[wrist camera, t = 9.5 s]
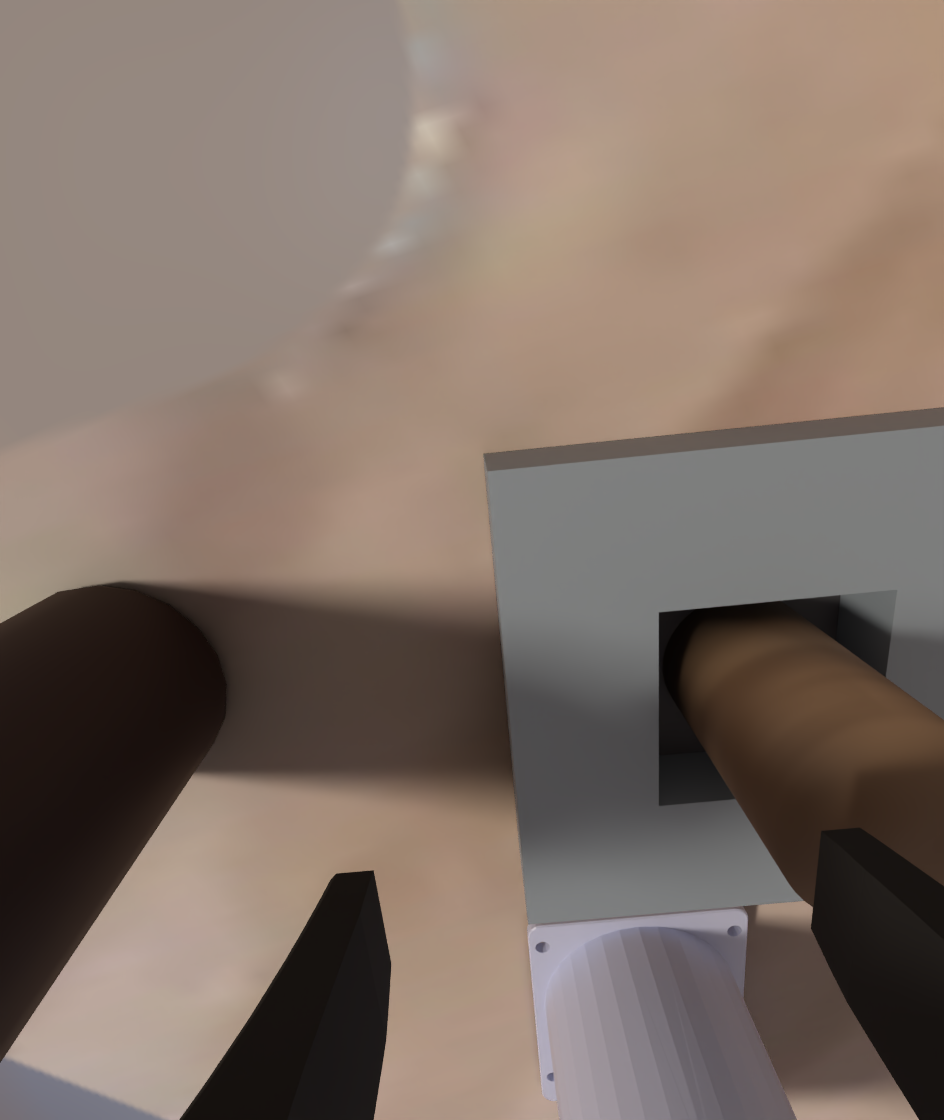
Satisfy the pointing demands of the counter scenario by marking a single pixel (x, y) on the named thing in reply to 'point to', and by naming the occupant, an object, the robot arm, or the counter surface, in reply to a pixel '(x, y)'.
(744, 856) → the socket block
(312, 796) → the counter surface
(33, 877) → the bottle
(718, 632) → the peg
